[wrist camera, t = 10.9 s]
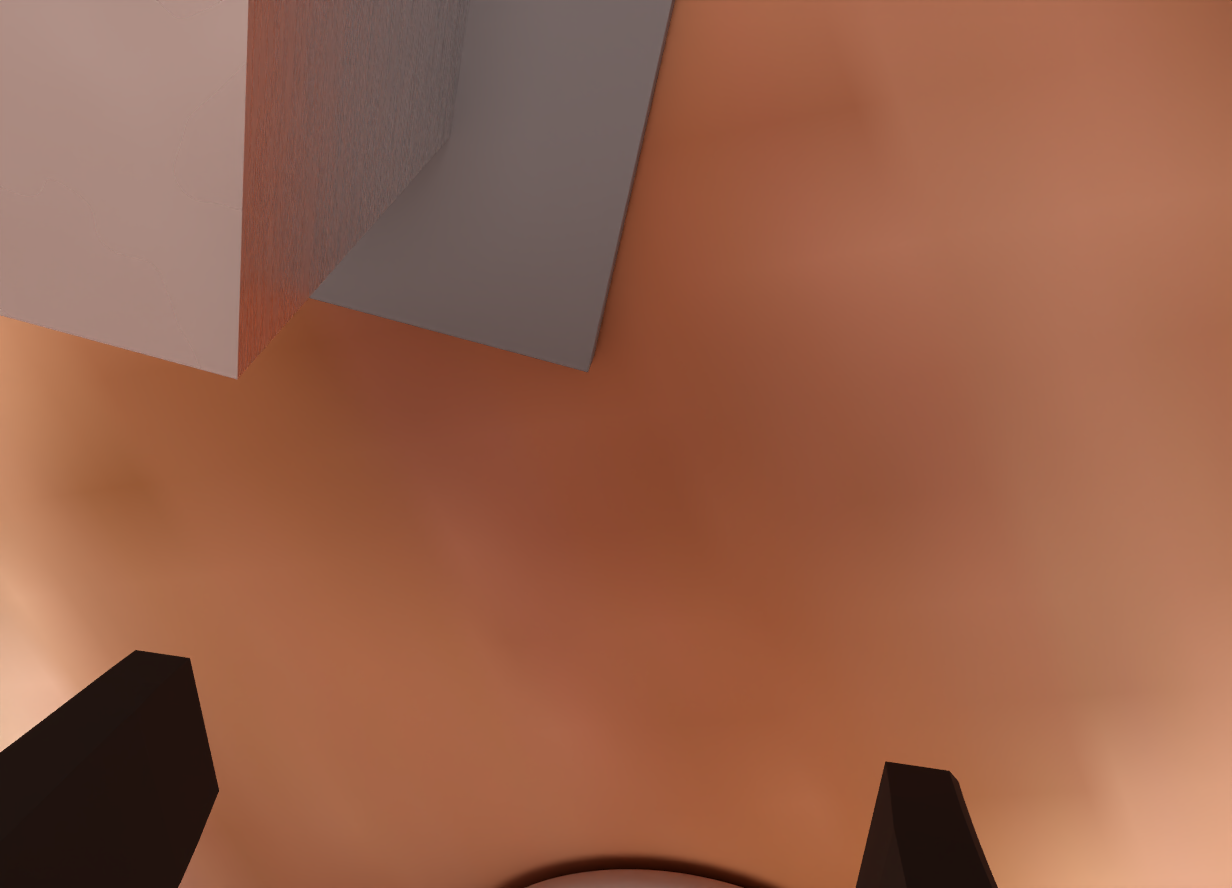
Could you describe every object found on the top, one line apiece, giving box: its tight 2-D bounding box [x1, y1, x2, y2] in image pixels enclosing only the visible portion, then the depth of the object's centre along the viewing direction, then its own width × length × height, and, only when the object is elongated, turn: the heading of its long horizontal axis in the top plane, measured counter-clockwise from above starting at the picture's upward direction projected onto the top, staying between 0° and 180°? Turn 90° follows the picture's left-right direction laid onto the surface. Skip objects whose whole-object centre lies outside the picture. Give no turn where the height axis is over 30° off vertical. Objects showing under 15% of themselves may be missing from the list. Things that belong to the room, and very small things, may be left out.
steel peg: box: [0, 0, 469, 379], centre depth 14 cm, size 4×4×8 cm
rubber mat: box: [309, 0, 675, 372], centre depth 18 cm, size 10×10×1 cm
